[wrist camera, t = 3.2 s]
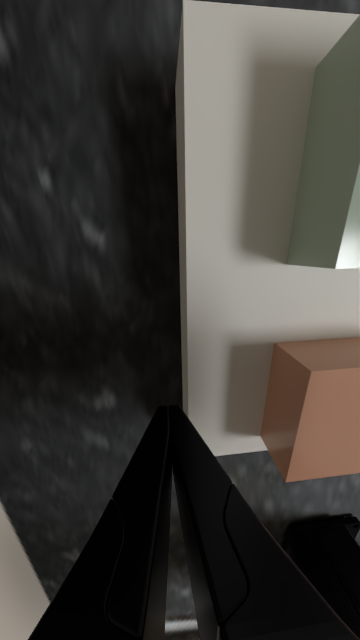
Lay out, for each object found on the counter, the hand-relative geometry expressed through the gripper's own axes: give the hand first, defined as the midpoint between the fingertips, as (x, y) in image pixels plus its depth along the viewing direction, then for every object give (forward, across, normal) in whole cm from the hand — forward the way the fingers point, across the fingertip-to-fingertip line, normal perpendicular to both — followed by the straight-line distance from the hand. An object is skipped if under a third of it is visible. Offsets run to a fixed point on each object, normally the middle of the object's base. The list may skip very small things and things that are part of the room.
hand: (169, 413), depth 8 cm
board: (+3, -7, -4) cm, 8 cm away
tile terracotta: (+1, -7, 0) cm, 7 cm away
